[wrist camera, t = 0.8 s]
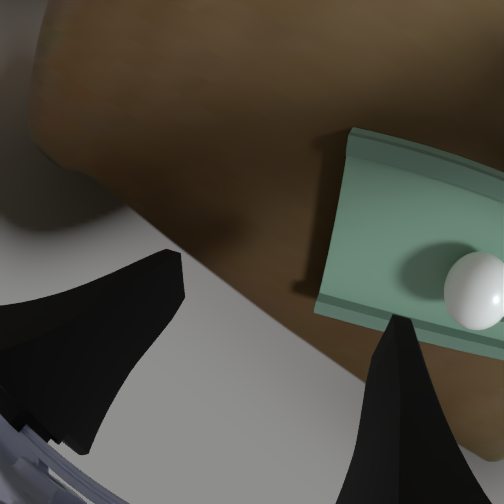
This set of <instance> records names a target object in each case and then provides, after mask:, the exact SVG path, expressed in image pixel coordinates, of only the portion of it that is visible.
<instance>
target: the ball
mask: <svg viewBox="0 0 504 504" xmlns="http://www.w3.org/2000/svg"><path fill="white" fill-rule="evenodd" d="M444 300H445V305H446V308H447V310H448V312H449V314H450V316H451V317H452V318H453V320H454V321H456V322H457V323H458V324H459V325H461V326H462V327H464V328H467V329H471V330H483V329H487V328H489V327H492V326H493V325H495V324H496V323H498V322H499V321H500V320H501V319H502V318H503V317H504V263H503V262H502V261H501V260H500V259H499V258H498V257H496V256H495V255H493V254H490V253H487V252H473V253H469V254H467V255H465V256H463V257H461V258H460V259H459V260H458V261H457V262H456V263H455V264H454V265H453V266H452V268H451V269H450V271H449V273H448V275H447V277H446V280H445V285H444Z"/></svg>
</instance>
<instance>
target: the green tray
mask: <svg viewBox="0 0 504 504" xmlns="http://www.w3.org/2000/svg"><path fill="white" fill-rule="evenodd" d="M345 155H346V162H345V168H344V174H343V180H342V186H341V191H340V197H339V202H338V208H337V213H336V218H335V223H334V228H333V233H332V238H331V243H330V248H329V252H328V257H327V261H326V266H325V270H324V275H323V279H322V284H321V288H320V292H319V295H318V298H317V301H316V305H315V309H314V313H317V314H321V315H324V316H328V317H331V318H335V319H339V320H342V321H346V322H350V323H353V324H357V325H361V326H364V327H368V328H372V329H376V330H379V331H383V332H384V331H385V329H386V327H387V325H388V323H389V321H390V319H391V317H392V314H395V315H399V316H403V317H406V318H410V319H411V321H412V323H413V326H414V329H415V332H416V336H417V339H418V341H422V342H426V343H431V344H435V345H439V346H443V347H447V348H451V349H456V350H460V351H464V352H469V353H473V354H478V355H482V356H487V357H491V358H496V359H500V360H504V317H503V318H502V319H501V320H500V321H499V322H498V323H496V324H495V325H493V326H492V327H489V328H487V329H483V330H471V329H467V328H464V327H462V326H461V325H459V324H458V323H457V322H456V321H454V320H453V318H452V317H451V316H450V314H449V312H448V310H447V308H446V305H445V300H444V285H445V280H446V277H447V275H448V273H449V271H450V269H451V268H452V266H453V265H454V264H455V263H456V262H457V261H458V260H459V259H460V258H461V257H463V256H465V255H467V254H469V253H473V252H487V253H490V254H493V255H495V256H496V257H498V258H499V259H500V260H501V261H502V262H503V263H504V172H501V171H499V170H496V169H494V168H491V167H489V166H486V165H483V164H481V163H478V162H475V161H472V160H470V159H467V158H464V157H461V156H458V155H455V154H452V153H449V152H446V151H443V150H439V149H436V148H433V147H430V146H426V145H423V144H419V143H416V142H412V141H409V140H405V139H401V138H397V137H393V136H389V135H385V134H381V133H377V132H373V131H369V130H364V129H360V128H355V127H353V128H352V129H351V131H350V133H349V135H348V141H347V148H346V154H345Z"/></svg>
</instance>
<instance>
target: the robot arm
mask: <svg viewBox="0 0 504 504" xmlns="http://www.w3.org/2000/svg"><path fill="white" fill-rule="evenodd" d="M184 298H185V292H184V283H183V272H182V262H181V253H179V252H175V251H172V250H169V249H165V250H162V251H159V252H157V253H155V254H152V255H150V256H148V257H146V258H143V259H141V260H139V261H137V262H134V263H132V264H130V265H128V266H126V267H124V268H121V269H119V270H117V271H115V272H113V273H110V274H108V275H106V276H104V277H101V278H98V279H96V280H94V281H91V282H89V283H87V284H84V285H81V286H79V287H76V288H73V289H70V290H68V291H65V292H61V293H58V294H55V295H51V296H47V297H43V298H39V299H36V300H31V301H26V302H21V303H16V304H9V305H1V306H0V504H87V503H86V502H85V501H84V500H83V499H82V498H81V497H80V496H79V495H78V494H76V493H75V492H74V491H73V490H71V489H70V488H69V487H67V486H66V485H64V484H63V483H61V482H60V481H59V480H57V479H56V478H54V477H53V476H51V475H50V474H49V473H48V467H49V468H50V469H51V470H52V471H54V472H55V473H56V474H57V475H58V476H59V477H61V478H62V479H63V480H64V481H66V482H67V483H68V484H69V485H71V486H72V487H73V488H74V489H76V490H77V491H78V492H80V493H81V494H83V495H84V496H85V497H86V498H88V499H89V500H90V501H92V502H93V503H95V504H129V503H128V502H126V501H124V500H123V499H121V498H120V497H118V496H116V495H115V494H113V493H112V492H110V491H109V490H107V489H106V488H104V487H103V486H101V485H100V484H99V483H97V482H96V481H94V480H93V479H91V478H90V477H88V476H87V475H86V474H84V473H83V472H82V471H81V470H79V469H78V468H77V467H75V466H74V465H73V464H72V463H70V462H69V461H68V460H66V459H65V458H64V457H63V456H62V455H60V454H59V453H58V452H57V451H56V450H54V449H53V448H52V447H51V446H50V445H48V444H47V443H48V441H49V440H50V439H52V440H53V441H54V442H55V443H57V444H60V443H61V442H63V443H65V444H66V445H67V446H68V447H70V448H71V449H72V450H74V451H75V452H76V453H77V454H79V455H86V454H89V451H90V448H91V446H92V443H93V441H94V439H95V436H96V434H97V432H98V429H99V427H100V425H101V423H102V421H103V419H104V417H105V415H106V413H107V411H108V409H109V407H110V405H111V404H112V402H113V400H114V398H115V397H116V395H117V393H118V391H119V389H120V388H121V386H122V385H123V383H124V381H125V380H126V378H127V377H128V375H129V373H130V372H131V370H132V369H133V368H134V366H135V365H136V363H137V362H138V361H139V360H140V358H141V357H142V356H143V355H144V353H145V352H146V351H147V350H148V349H149V347H150V346H151V345H152V344H153V342H154V341H155V340H156V339H157V337H158V336H159V335H160V334H161V333H162V331H163V330H164V329H165V328H166V326H167V325H168V323H169V322H170V321H171V320H172V318H173V317H174V315H175V314H176V312H177V310H178V309H179V307H180V305H181V304H182V302H183V300H184ZM336 504H492V503H491V502H490V500H489V499H488V497H487V496H486V494H485V493H484V492H483V490H482V488H481V486H480V485H479V483H478V482H477V480H476V478H475V476H474V475H473V473H472V471H471V469H470V468H469V466H468V464H467V462H466V460H465V458H464V456H463V454H462V452H461V450H460V449H459V447H458V445H457V443H456V440H455V438H454V436H453V434H452V432H451V430H450V427H449V425H448V423H447V420H446V418H445V416H444V413H443V411H442V408H441V406H440V403H439V400H438V398H437V395H436V392H435V390H434V387H433V384H432V381H431V378H430V375H429V372H428V369H427V367H426V364H425V361H424V358H423V355H422V351H421V348H420V345H419V342H418V339H417V336H416V332H415V329H414V326H413V323H412V321H411V319H410V318H406V317H403V316H399V315H395V314H392V317H391V319H390V321H389V323H388V325H387V327H386V329H385V331H384V333H383V335H382V338H381V340H380V342H379V344H378V346H377V348H376V350H375V351H374V353H373V355H372V359H371V363H370V368H369V372H368V376H367V380H366V385H365V392H364V399H363V405H362V411H361V418H360V425H359V430H358V435H357V441H356V445H355V450H354V453H353V457H352V460H351V463H350V466H349V469H348V472H347V475H346V478H345V481H344V483H343V486H342V489H341V491H340V494H339V496H338V499H337V501H336Z"/></svg>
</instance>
